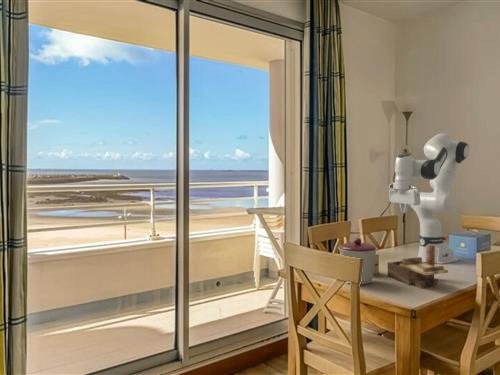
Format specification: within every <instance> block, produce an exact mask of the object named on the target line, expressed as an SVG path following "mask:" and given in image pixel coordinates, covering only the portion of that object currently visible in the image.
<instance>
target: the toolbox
mask: <svg viewBox="0 0 500 375" xmlns="http://www.w3.org/2000/svg"><path fill="white" fill-rule="evenodd" d="M399 264H402V260H398V261H388V262H387V277H388V278H390V279H393V280H396V281H398V282H401V283H403V284H405V285H407V286H412V285H414V287H416V288H419V289H425V286H426V284H427V285H428V286H432V287H434V288H435V287H438V286H439V285H438V284H439V283H438V282H439V279H437V278H435V277H434V278H431V275H424V274H421V273H418V272H415V271H412V270H409V269H407V268H404V267H401V266H399Z"/></svg>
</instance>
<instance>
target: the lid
mask: <svg viewBox="0 0 500 375" xmlns="http://www.w3.org/2000/svg"><path fill="white" fill-rule="evenodd" d="M401 261H402V264H399V266H401V267H404V268H407V269H409V270H412V271H415V272H418V273H421V274H424V275H432V274H434V275H437V274H439V275H440V274H446V273H448V272H449V270H448V269H444V266H443V265H438V266H435V265H434V266H432V265H429V264H426V262H422V258H421V257H418V256H416V257H406V258H401Z"/></svg>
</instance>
